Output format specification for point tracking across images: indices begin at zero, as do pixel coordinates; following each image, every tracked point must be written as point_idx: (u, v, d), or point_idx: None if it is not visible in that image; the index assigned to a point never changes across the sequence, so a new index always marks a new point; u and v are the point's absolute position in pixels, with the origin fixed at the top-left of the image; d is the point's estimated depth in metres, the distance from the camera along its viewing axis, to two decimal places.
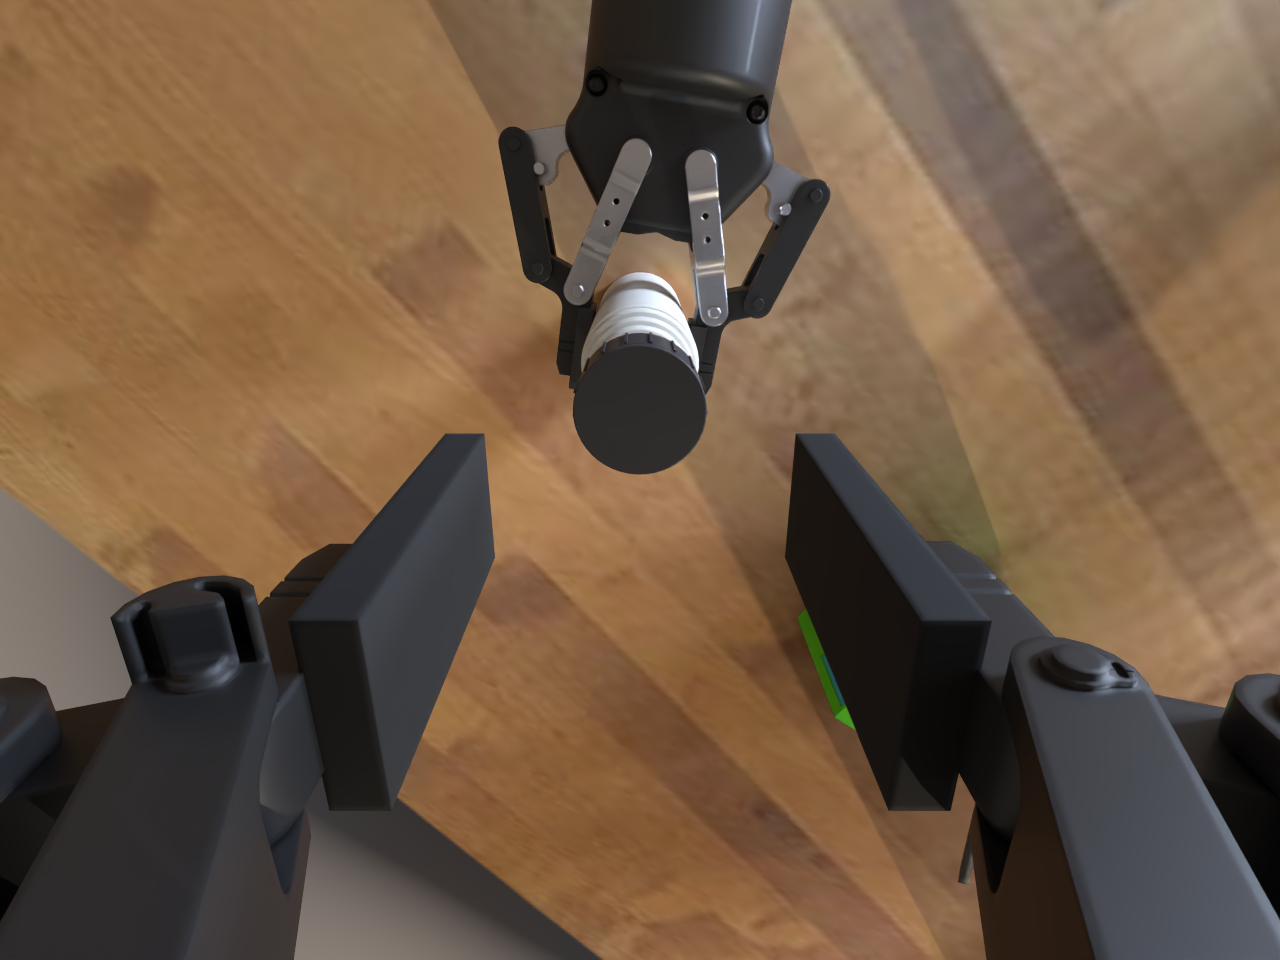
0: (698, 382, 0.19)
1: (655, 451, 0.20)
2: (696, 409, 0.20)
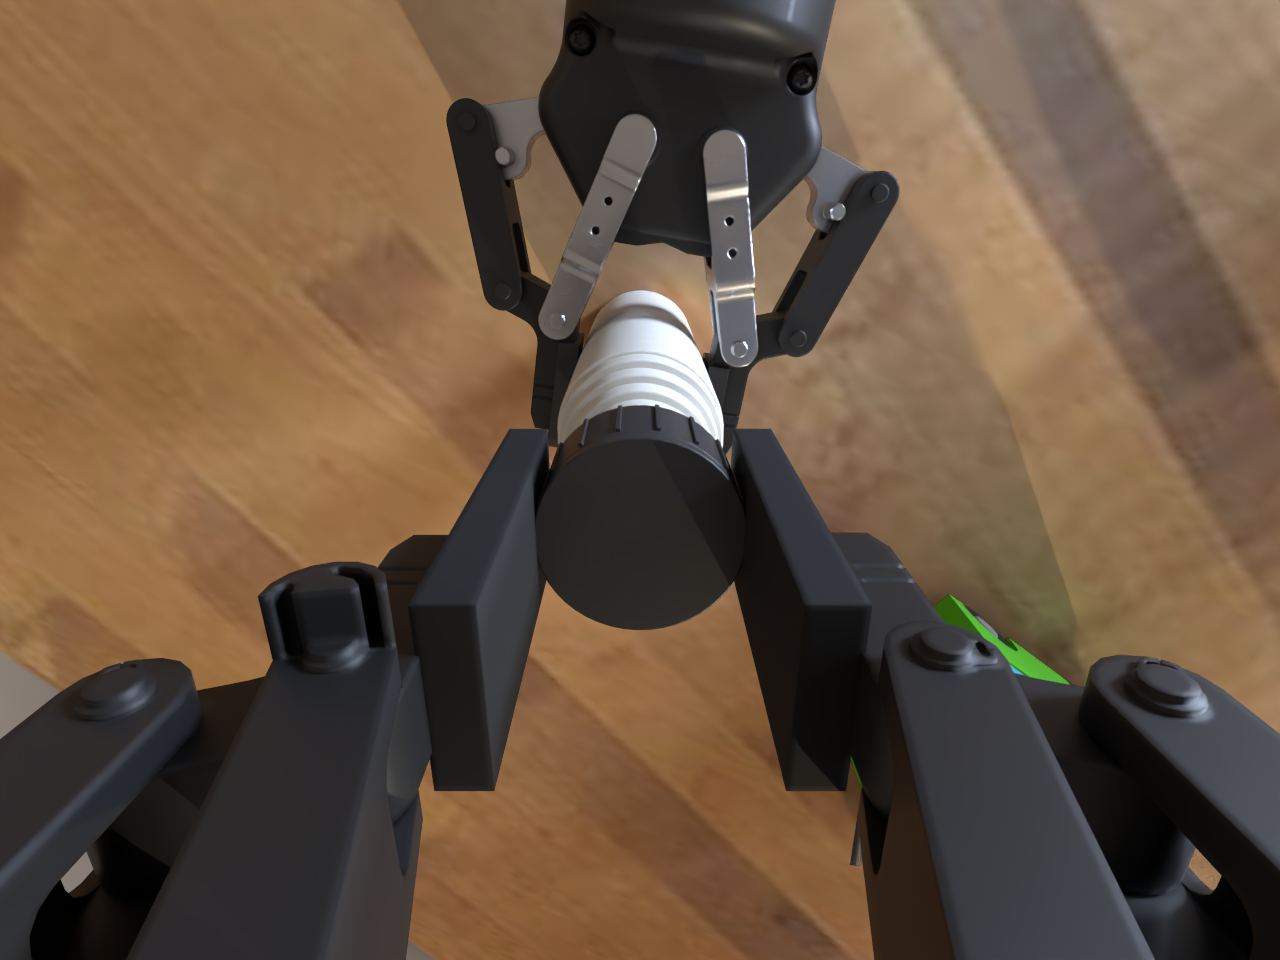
0: (735, 494, 0.12)
1: (665, 596, 0.13)
2: (731, 535, 0.12)
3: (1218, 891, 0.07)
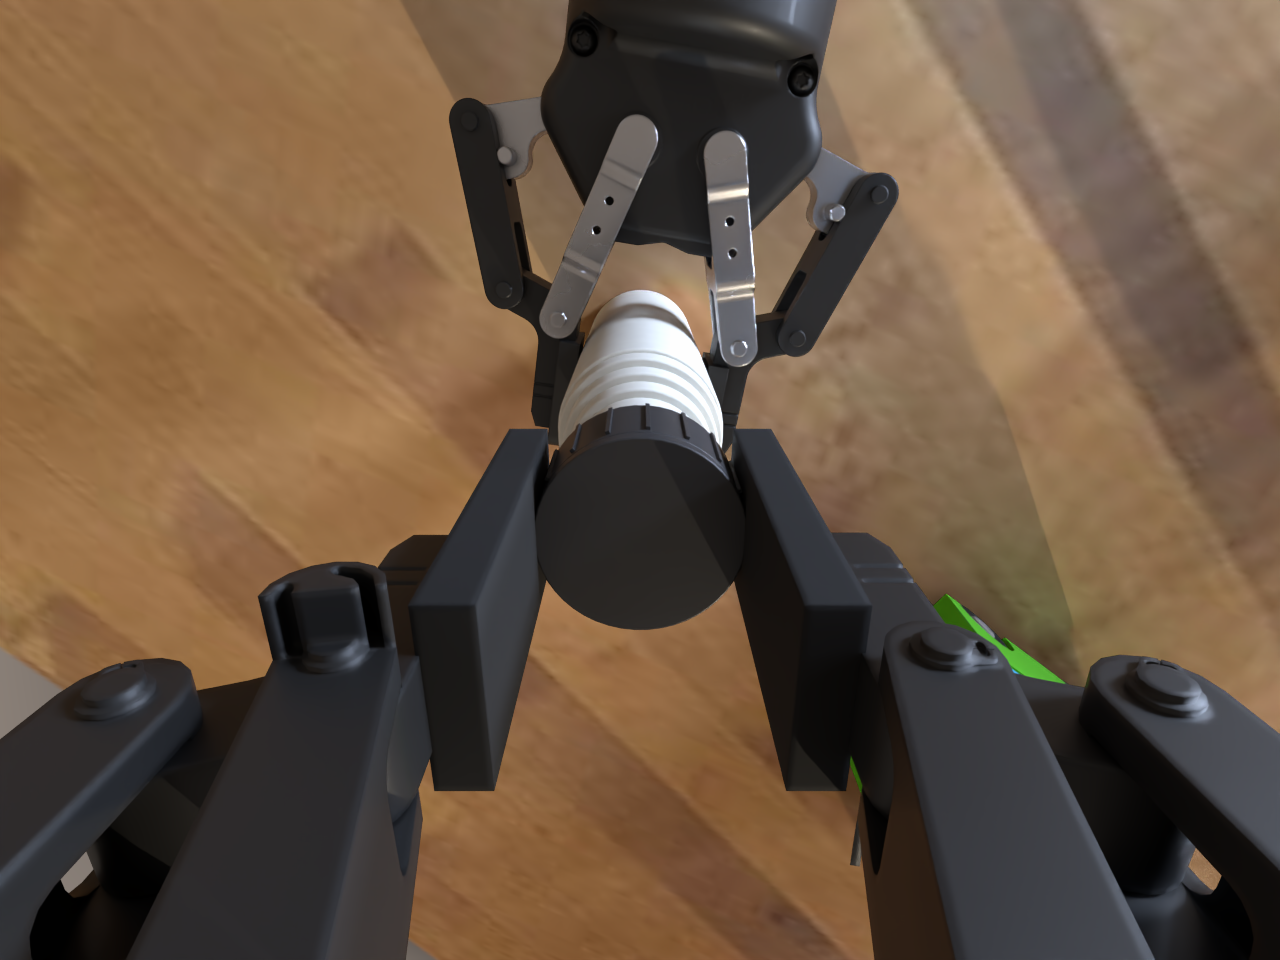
0: (558, 474, 0.12)
1: (694, 494, 0.12)
2: (601, 461, 0.12)
3: (1218, 891, 0.07)
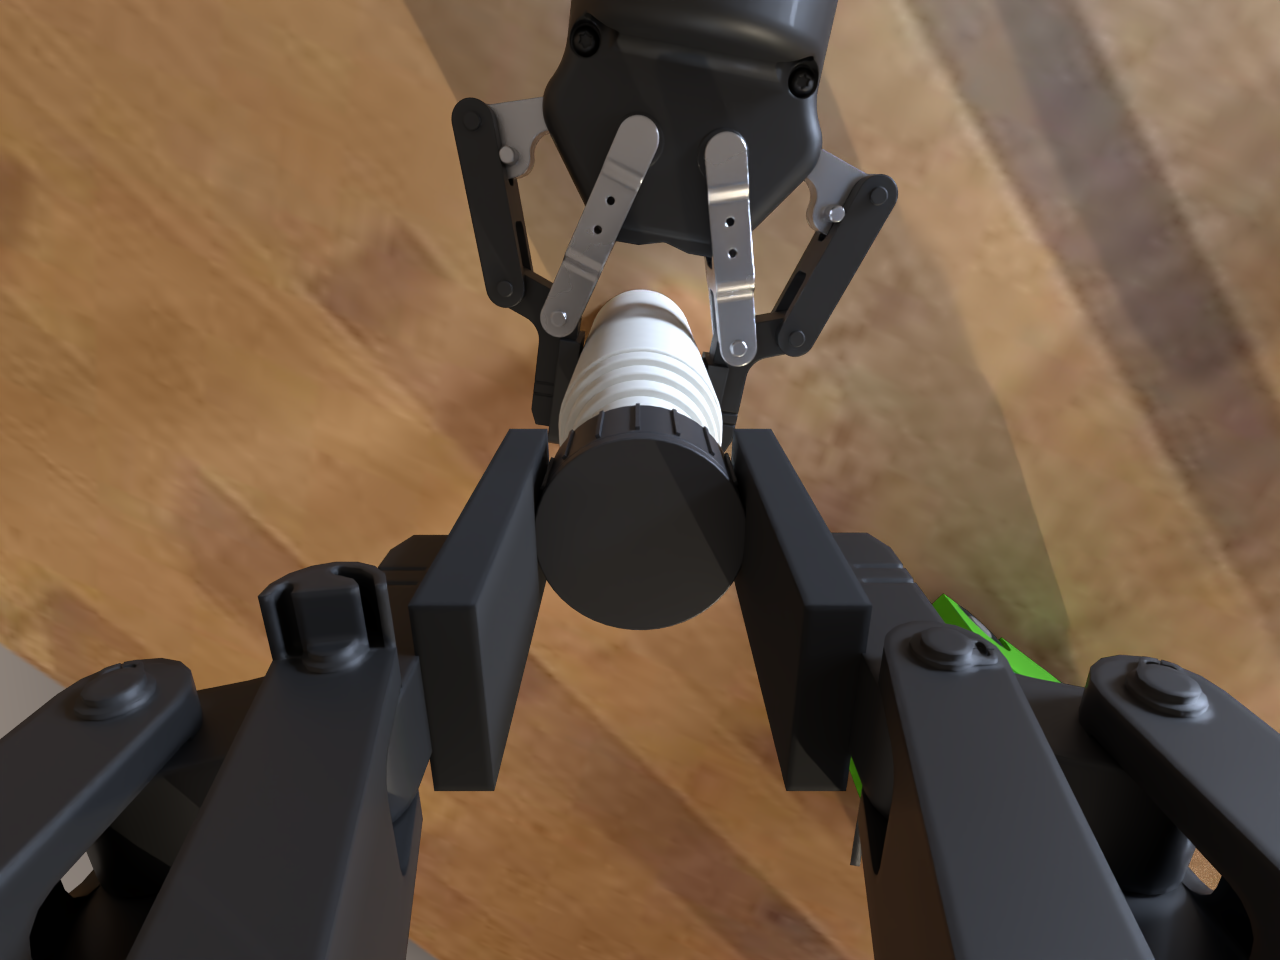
0: (607, 622, 0.13)
1: (575, 510, 0.12)
2: (579, 595, 0.13)
3: (1218, 891, 0.07)
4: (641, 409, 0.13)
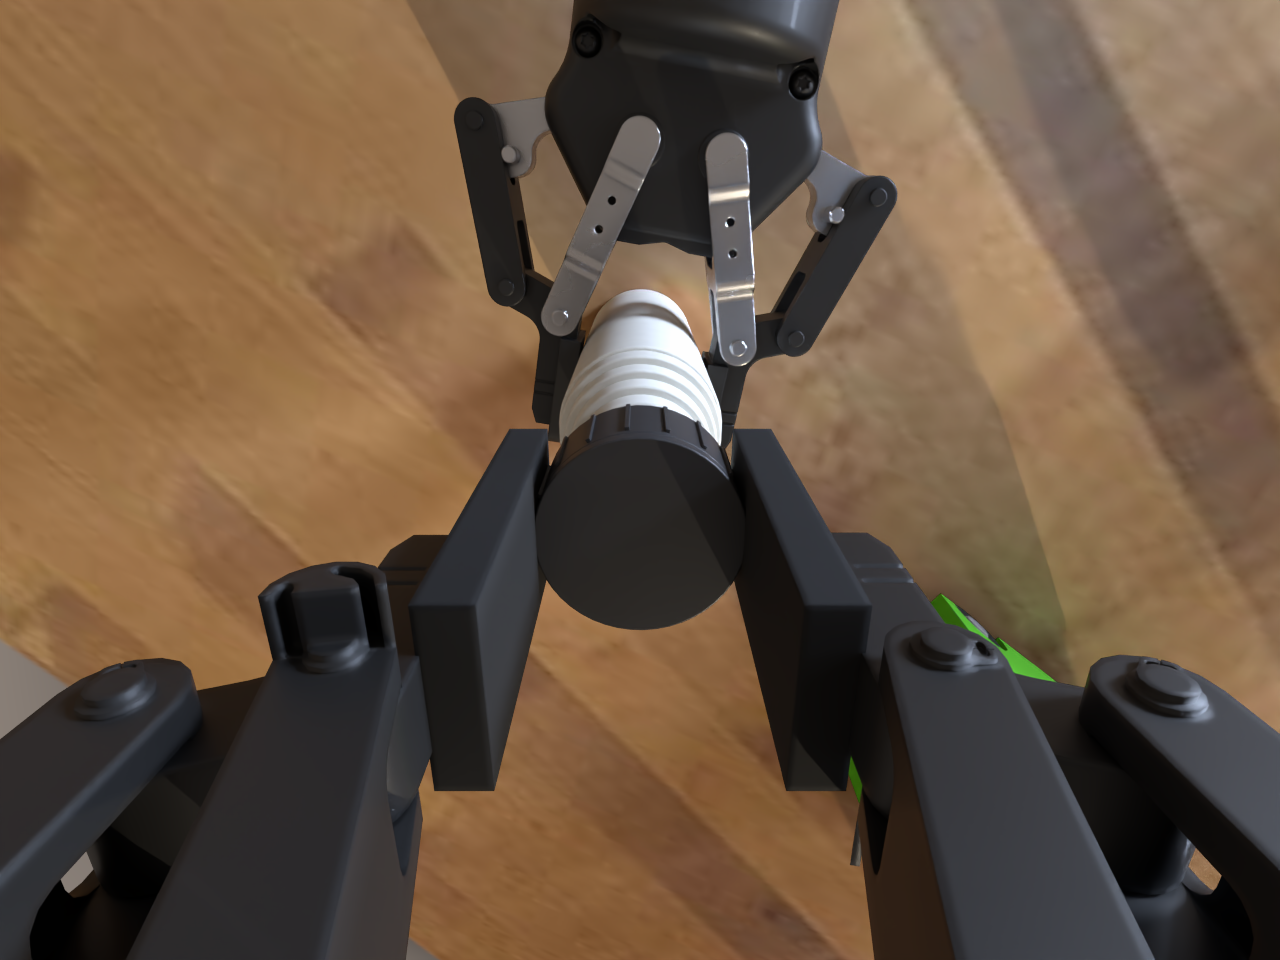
0: None
1: (634, 600, 0.13)
2: (722, 570, 0.13)
3: (1218, 891, 0.07)
4: None
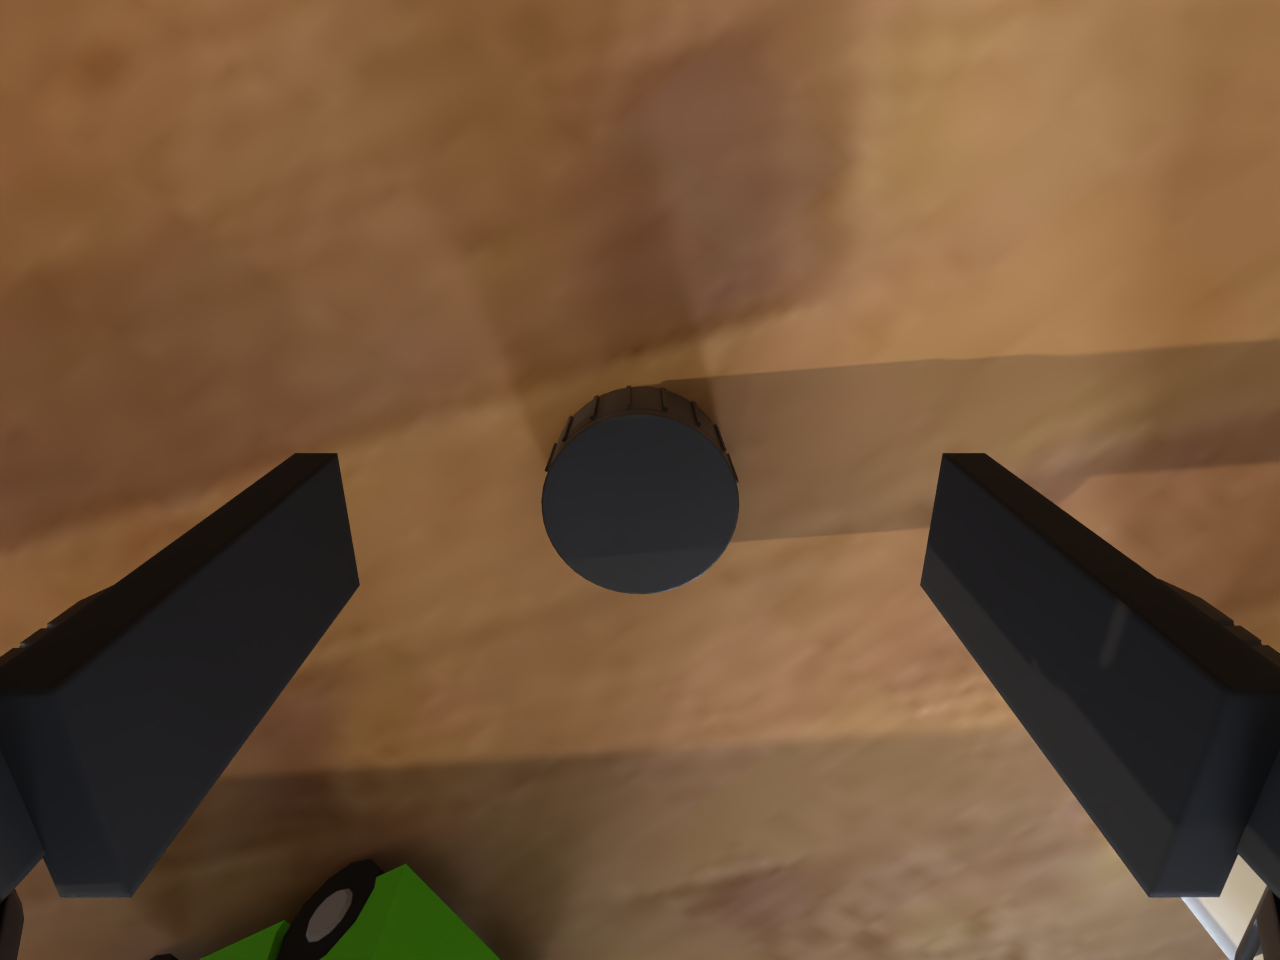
0: (736, 505, 0.13)
1: (634, 566, 0.14)
2: (715, 538, 0.14)
3: None
4: None
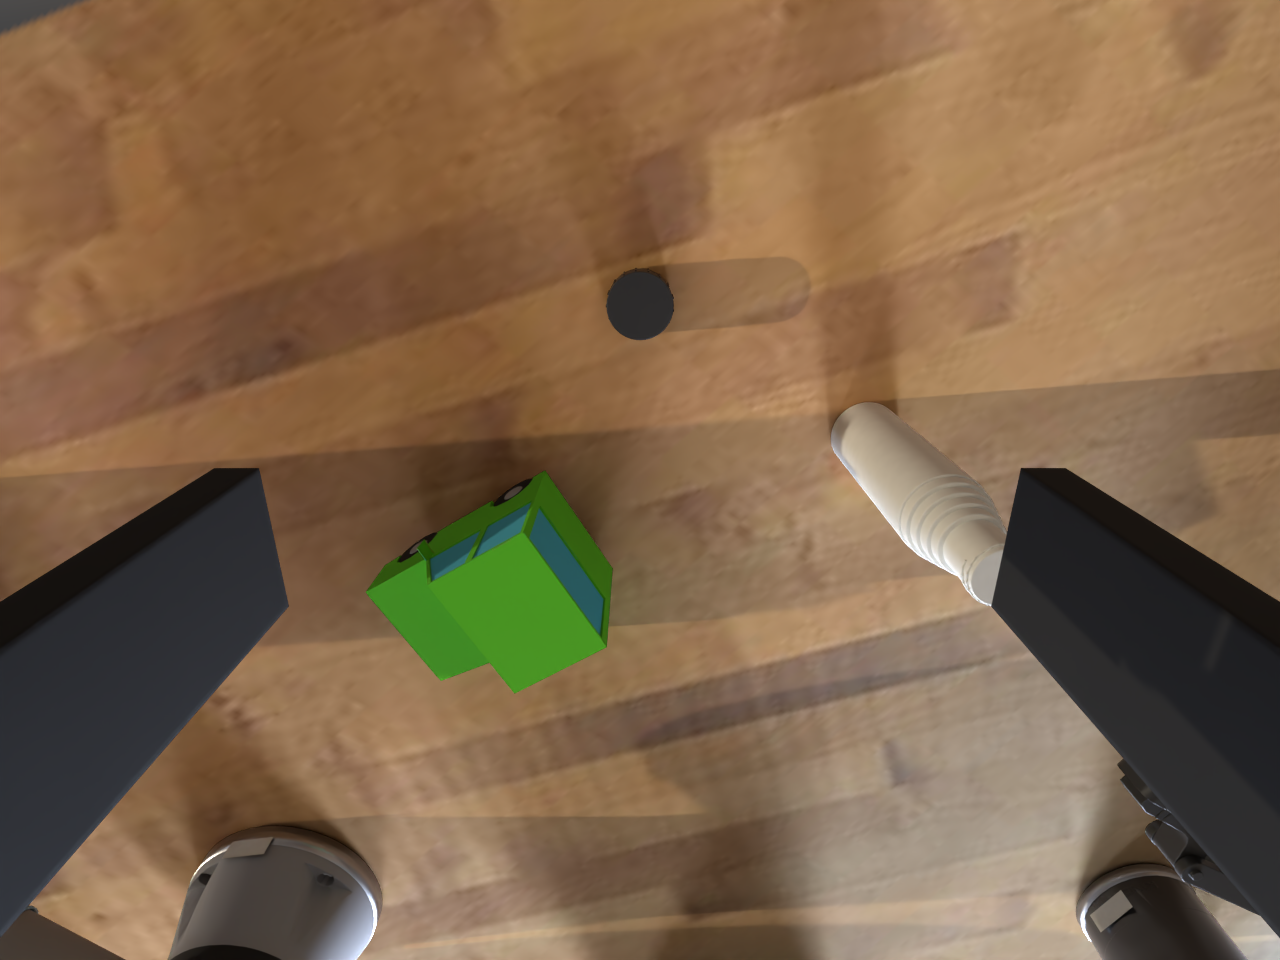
0: (672, 305, 0.39)
1: (638, 328, 0.40)
2: (666, 317, 0.40)
3: None
4: None
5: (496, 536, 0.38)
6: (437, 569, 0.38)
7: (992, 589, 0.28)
